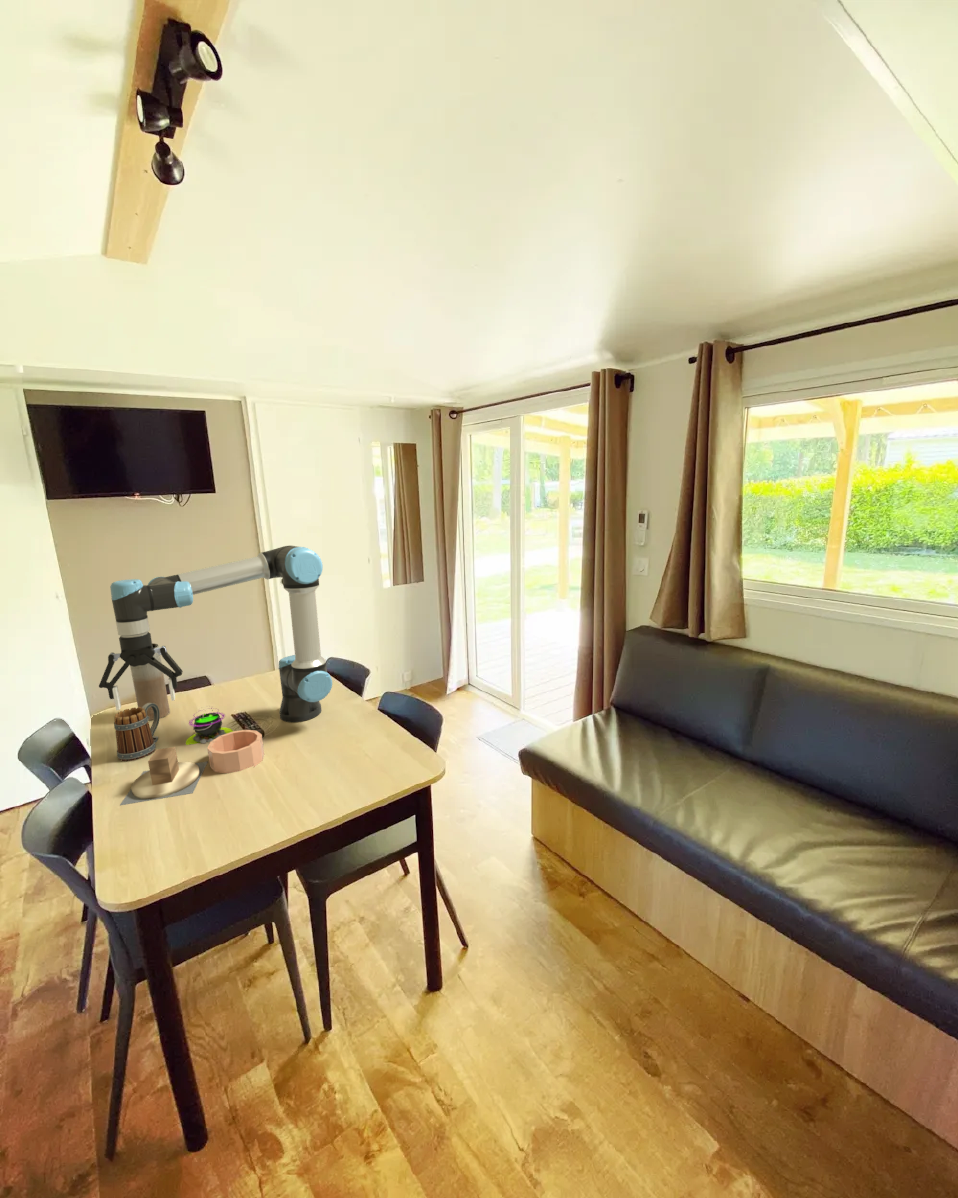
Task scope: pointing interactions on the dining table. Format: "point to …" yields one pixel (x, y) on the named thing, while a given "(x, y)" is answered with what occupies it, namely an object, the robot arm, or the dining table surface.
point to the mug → (136, 732)
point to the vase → (150, 687)
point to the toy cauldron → (207, 728)
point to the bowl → (236, 751)
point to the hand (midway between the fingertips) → (146, 703)
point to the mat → (189, 790)
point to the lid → (165, 775)
